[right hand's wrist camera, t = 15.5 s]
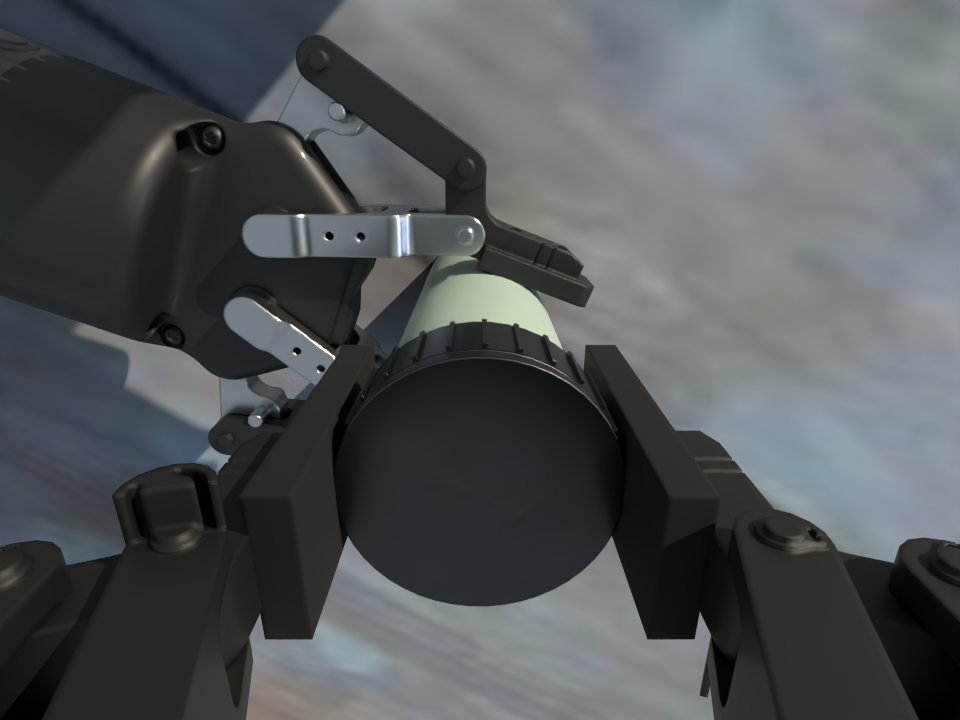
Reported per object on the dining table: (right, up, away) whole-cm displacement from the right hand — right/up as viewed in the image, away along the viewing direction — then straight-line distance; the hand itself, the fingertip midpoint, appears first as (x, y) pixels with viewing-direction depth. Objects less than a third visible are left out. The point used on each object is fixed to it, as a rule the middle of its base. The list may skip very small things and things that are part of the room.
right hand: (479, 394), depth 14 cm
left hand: (+2, +1, +5) cm, 5 cm away
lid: (0, -1, -4) cm, 4 cm away
